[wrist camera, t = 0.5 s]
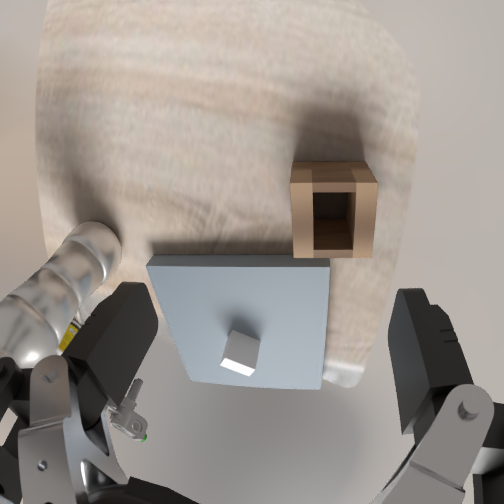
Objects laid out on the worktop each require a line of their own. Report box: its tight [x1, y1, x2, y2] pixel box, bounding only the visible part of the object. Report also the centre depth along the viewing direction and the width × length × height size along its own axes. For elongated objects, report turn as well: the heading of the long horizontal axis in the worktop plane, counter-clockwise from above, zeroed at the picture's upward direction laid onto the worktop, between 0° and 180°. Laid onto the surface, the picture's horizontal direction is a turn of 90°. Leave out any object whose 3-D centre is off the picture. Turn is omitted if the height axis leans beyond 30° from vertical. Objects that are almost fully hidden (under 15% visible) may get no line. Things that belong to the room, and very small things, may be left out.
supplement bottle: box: [54, 319, 82, 356], centre depth 40 cm, size 5×5×8 cm
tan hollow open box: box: [290, 161, 378, 258], centre depth 24 cm, size 6×6×5 cm
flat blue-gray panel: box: [146, 255, 330, 389], centre depth 34 cm, size 20×18×6 cm
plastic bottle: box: [0, 221, 122, 368], centre depth 24 cm, size 6×7×20 cm
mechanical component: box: [103, 378, 148, 441], centre depth 44 cm, size 3×10×10 cm, turn 36°
